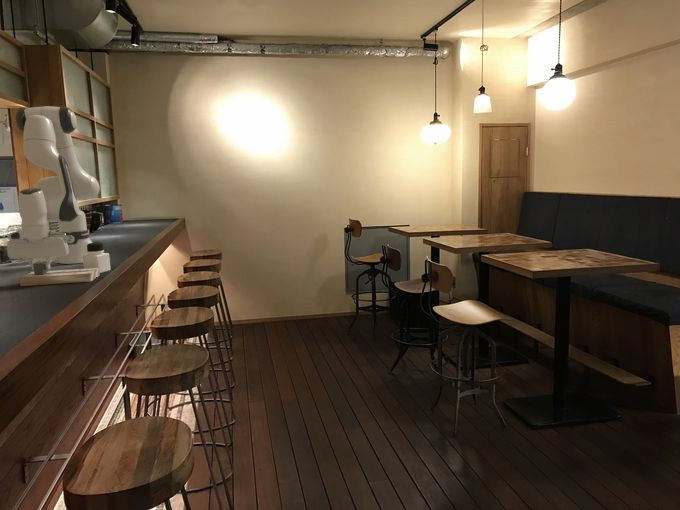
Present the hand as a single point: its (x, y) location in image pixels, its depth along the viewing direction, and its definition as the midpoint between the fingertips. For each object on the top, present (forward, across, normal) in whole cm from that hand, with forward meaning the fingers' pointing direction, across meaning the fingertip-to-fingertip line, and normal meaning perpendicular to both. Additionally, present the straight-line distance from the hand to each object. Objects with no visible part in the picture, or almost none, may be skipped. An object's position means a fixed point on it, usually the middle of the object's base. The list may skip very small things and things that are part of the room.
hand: (41, 269), depth 191 cm
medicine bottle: (+5, -16, -14) cm, 22 cm away
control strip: (+5, -7, 0) cm, 8 cm away
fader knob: (+1, 0, 0) cm, 1 cm away
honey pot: (+5, +18, -51) cm, 54 cm away
